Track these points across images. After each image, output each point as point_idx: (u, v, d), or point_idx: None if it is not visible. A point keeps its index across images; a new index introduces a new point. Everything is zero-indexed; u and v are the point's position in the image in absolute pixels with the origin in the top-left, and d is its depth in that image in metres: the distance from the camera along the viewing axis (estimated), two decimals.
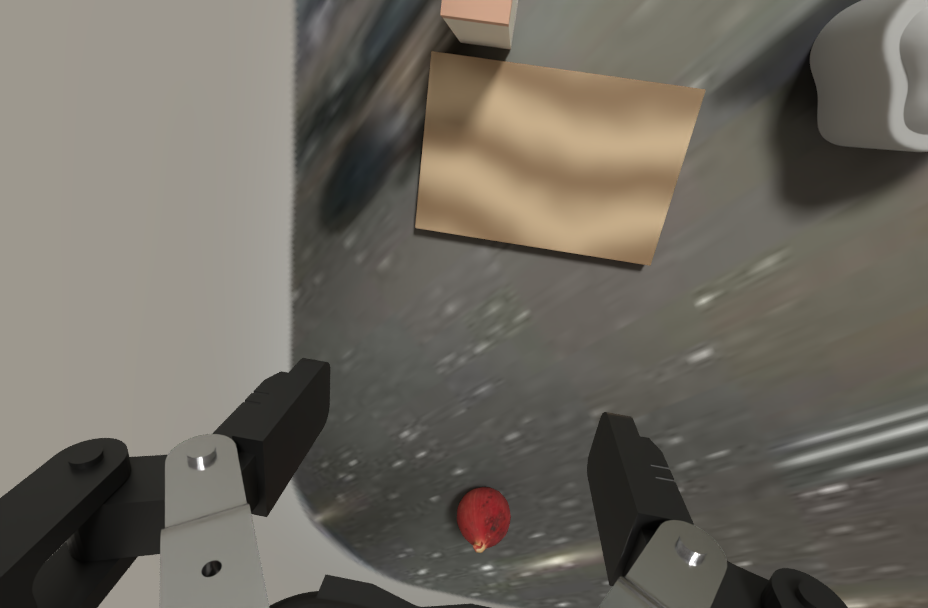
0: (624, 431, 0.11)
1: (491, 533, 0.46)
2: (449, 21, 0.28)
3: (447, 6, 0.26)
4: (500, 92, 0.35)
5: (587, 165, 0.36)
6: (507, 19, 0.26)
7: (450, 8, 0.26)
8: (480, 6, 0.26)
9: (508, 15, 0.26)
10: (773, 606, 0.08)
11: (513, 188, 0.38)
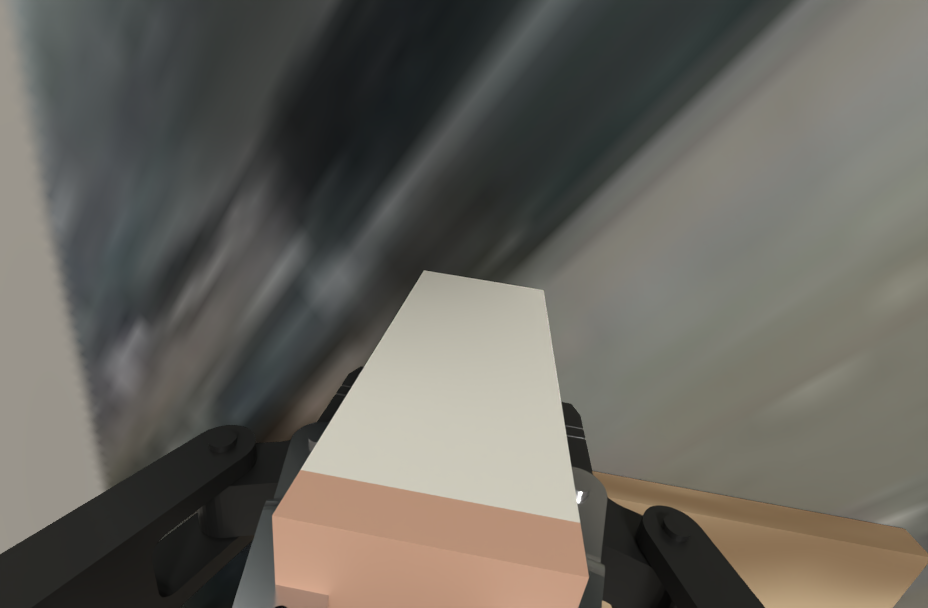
0: None
1: None
2: None
3: None
4: None
5: None
6: None
7: None
8: None
9: None
10: (648, 546, 0.08)
11: None
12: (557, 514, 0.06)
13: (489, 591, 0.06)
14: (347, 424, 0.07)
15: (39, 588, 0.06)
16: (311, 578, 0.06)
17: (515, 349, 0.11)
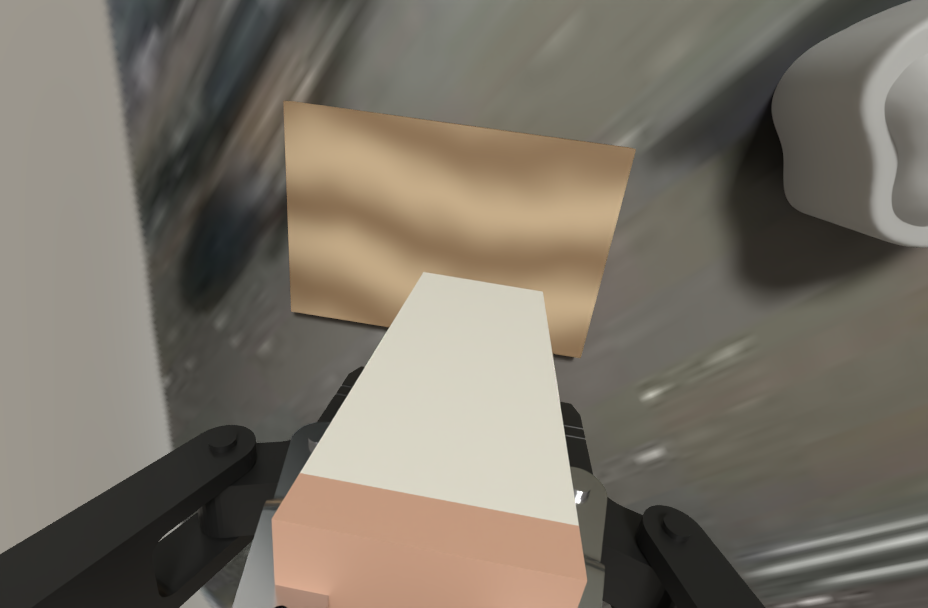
0: None
1: None
2: None
3: None
4: (376, 151, 0.27)
5: (493, 240, 0.29)
6: None
7: None
8: None
9: None
10: (648, 546, 0.08)
11: (404, 267, 0.30)
12: (556, 517, 0.06)
13: (488, 594, 0.06)
14: (346, 427, 0.07)
15: (39, 588, 0.06)
16: (310, 581, 0.06)
17: (514, 351, 0.11)
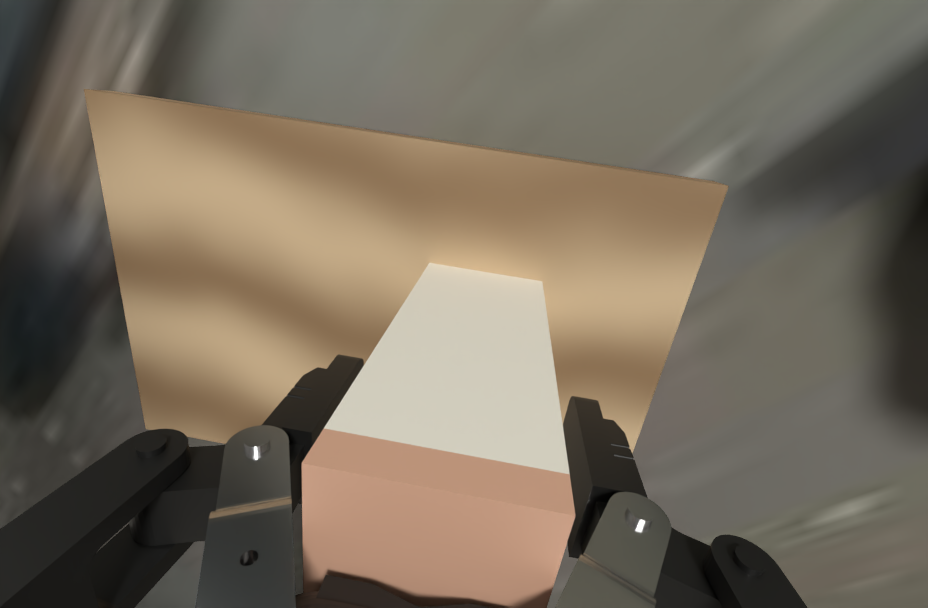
0: (588, 413, 0.12)
1: None
2: None
3: None
4: (255, 181, 0.15)
5: None
6: None
7: None
8: None
9: None
10: (715, 574, 0.08)
11: None
12: (549, 467, 0.07)
13: (489, 530, 0.07)
14: (363, 393, 0.08)
15: None
16: (334, 521, 0.07)
17: (515, 332, 0.11)
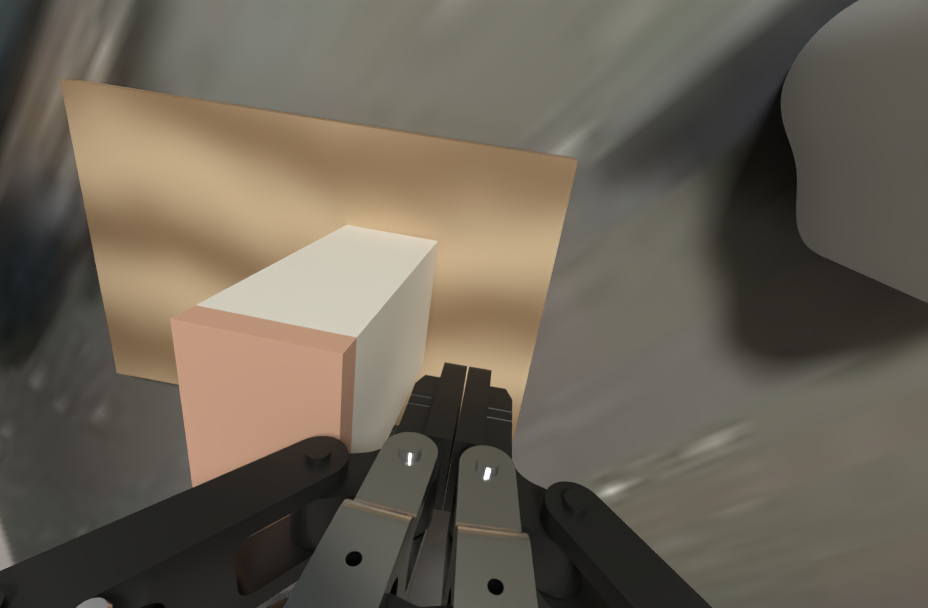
0: (477, 380, 0.13)
1: None
2: None
3: None
4: (202, 156, 0.19)
5: None
6: None
7: None
8: None
9: None
10: (554, 527, 0.08)
11: None
12: (344, 333, 0.10)
13: (293, 367, 0.10)
14: (235, 291, 0.12)
15: (134, 563, 0.07)
16: (196, 363, 0.10)
17: (383, 268, 0.15)
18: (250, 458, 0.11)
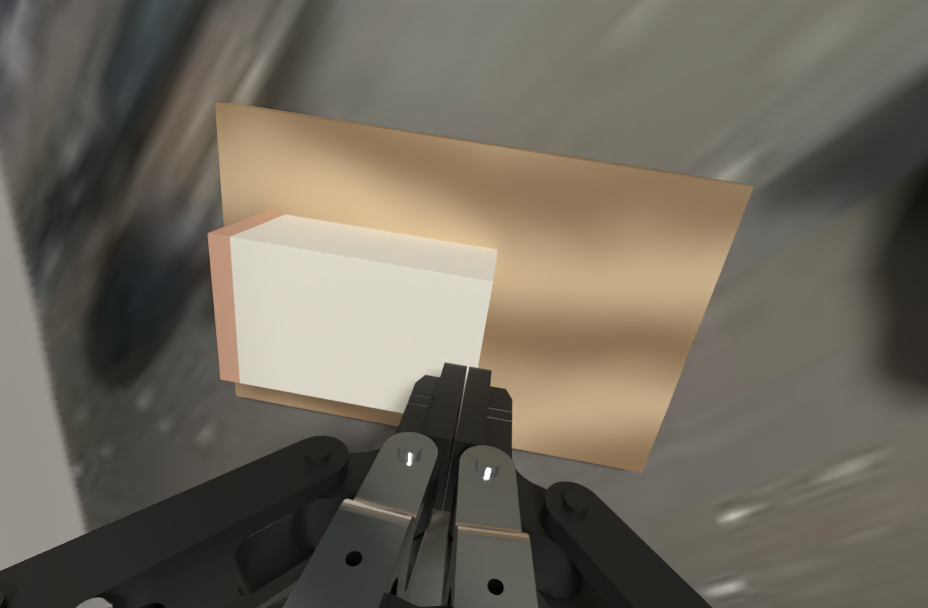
0: (477, 380, 0.13)
1: None
2: None
3: None
4: (355, 180, 0.18)
5: (525, 312, 0.20)
6: (221, 373, 0.18)
7: None
8: None
9: (221, 369, 0.18)
10: (554, 527, 0.08)
11: None
12: (236, 235, 0.16)
13: None
14: (307, 220, 0.19)
15: (134, 563, 0.07)
16: None
17: (371, 252, 0.16)
18: None
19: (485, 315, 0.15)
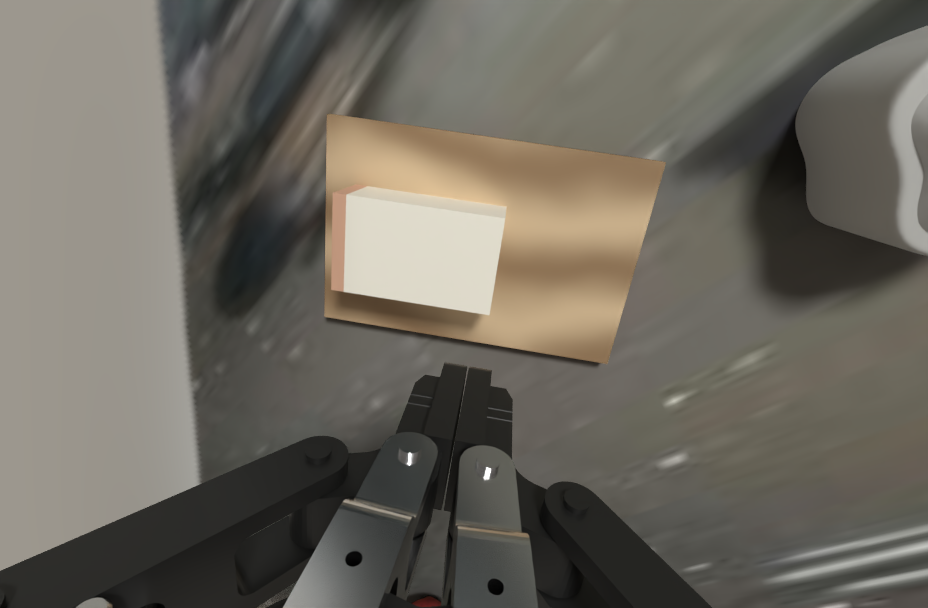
0: (477, 380, 0.13)
1: None
2: None
3: None
4: (414, 162, 0.28)
5: (525, 249, 0.30)
6: (331, 286, 0.28)
7: None
8: None
9: (331, 283, 0.28)
10: (554, 527, 0.08)
11: None
12: (349, 194, 0.26)
13: None
14: (382, 189, 0.29)
15: (134, 564, 0.07)
16: None
17: (430, 204, 0.26)
18: None
19: (500, 240, 0.25)
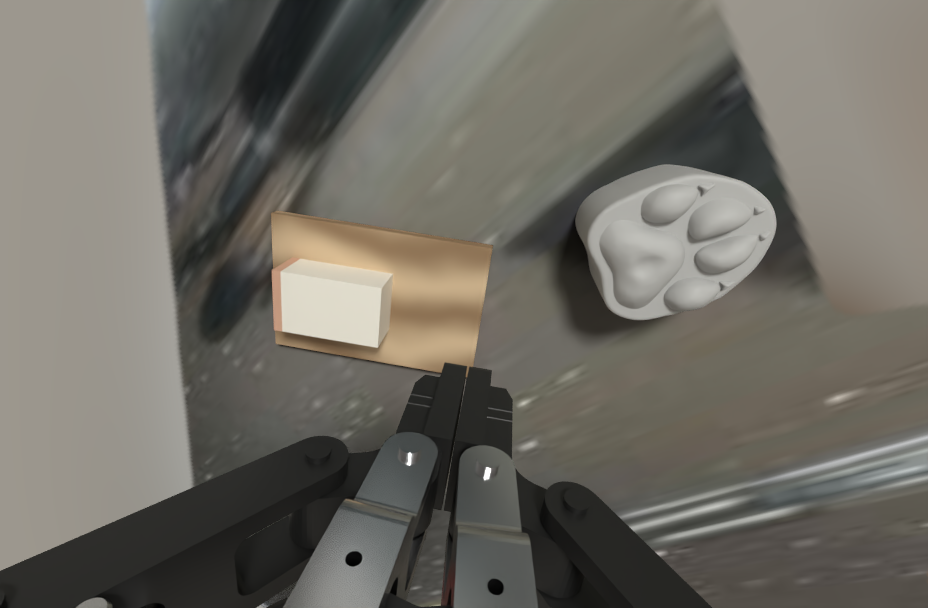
0: (477, 380, 0.13)
1: None
2: None
3: None
4: (330, 244, 0.42)
5: (408, 301, 0.44)
6: (274, 327, 0.42)
7: None
8: None
9: (274, 325, 0.42)
10: (554, 527, 0.08)
11: None
12: (282, 270, 0.40)
13: None
14: (310, 261, 0.43)
15: (134, 564, 0.07)
16: None
17: (336, 276, 0.40)
18: None
19: (380, 301, 0.40)
